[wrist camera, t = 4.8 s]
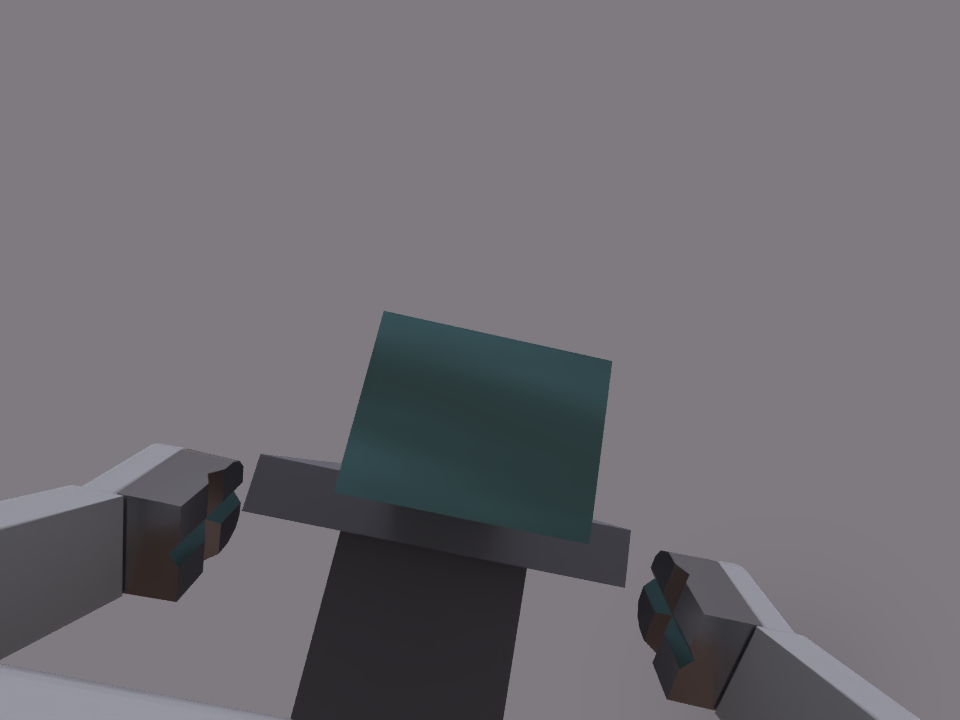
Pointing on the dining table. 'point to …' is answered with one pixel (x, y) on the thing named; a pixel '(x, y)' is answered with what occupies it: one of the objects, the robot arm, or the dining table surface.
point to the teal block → (479, 428)
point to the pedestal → (416, 599)
